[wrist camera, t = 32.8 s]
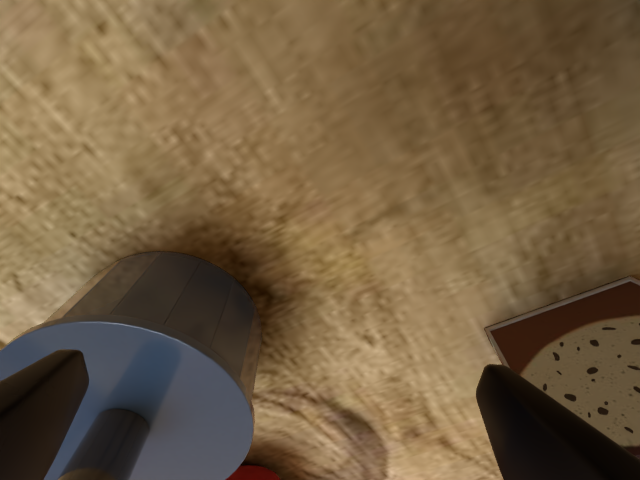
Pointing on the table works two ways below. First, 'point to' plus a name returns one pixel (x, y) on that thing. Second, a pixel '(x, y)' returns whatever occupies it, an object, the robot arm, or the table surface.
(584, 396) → the food container
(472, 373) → the table surface
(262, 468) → the apple
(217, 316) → the tin
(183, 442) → the lid
